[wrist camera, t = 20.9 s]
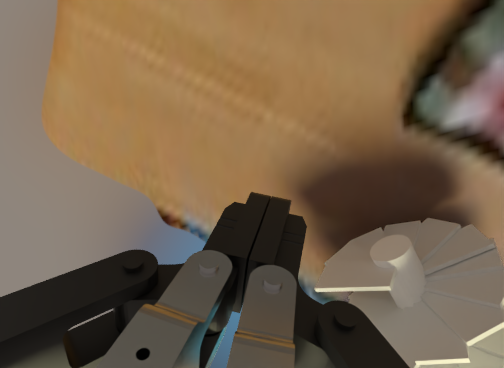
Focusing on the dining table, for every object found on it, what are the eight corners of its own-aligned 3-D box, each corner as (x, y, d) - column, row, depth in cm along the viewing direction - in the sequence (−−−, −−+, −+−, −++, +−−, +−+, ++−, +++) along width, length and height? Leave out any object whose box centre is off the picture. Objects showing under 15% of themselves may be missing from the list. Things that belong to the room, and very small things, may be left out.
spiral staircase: (419, 179, 44) (485, 326, 51) (293, 253, 44) (376, 390, 51) (562, 236, 26) (634, 451, 33) (352, 359, 27) (466, 547, 33)
